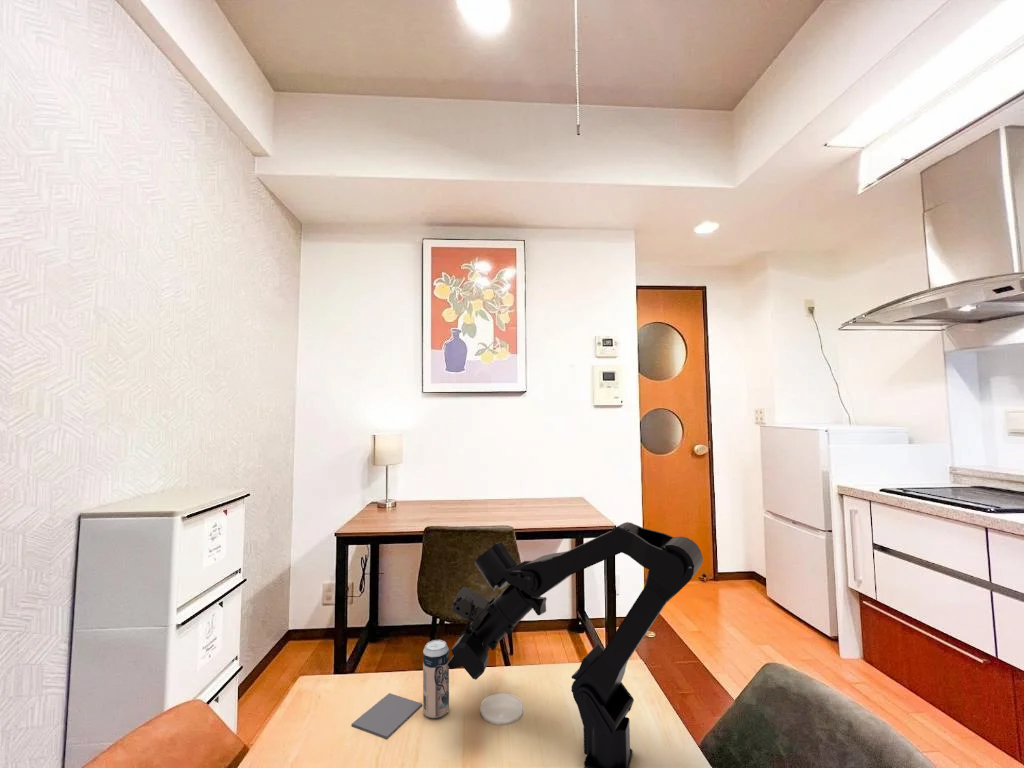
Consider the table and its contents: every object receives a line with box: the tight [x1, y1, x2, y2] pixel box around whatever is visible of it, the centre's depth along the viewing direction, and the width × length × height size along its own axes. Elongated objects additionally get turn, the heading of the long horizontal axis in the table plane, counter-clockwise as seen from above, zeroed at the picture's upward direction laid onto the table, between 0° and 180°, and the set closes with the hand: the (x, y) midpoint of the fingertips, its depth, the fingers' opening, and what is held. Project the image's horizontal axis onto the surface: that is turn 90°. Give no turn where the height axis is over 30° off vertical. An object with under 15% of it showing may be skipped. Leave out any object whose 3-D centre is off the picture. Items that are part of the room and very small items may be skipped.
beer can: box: [422, 639, 450, 719], centre depth 84 cm, size 5×5×12 cm
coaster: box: [480, 692, 524, 726], centre depth 84 cm, size 8×8×1 cm
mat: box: [351, 692, 423, 740], centre depth 82 cm, size 8×10×1 cm
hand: (449, 666), depth 84 cm, fingers closed
